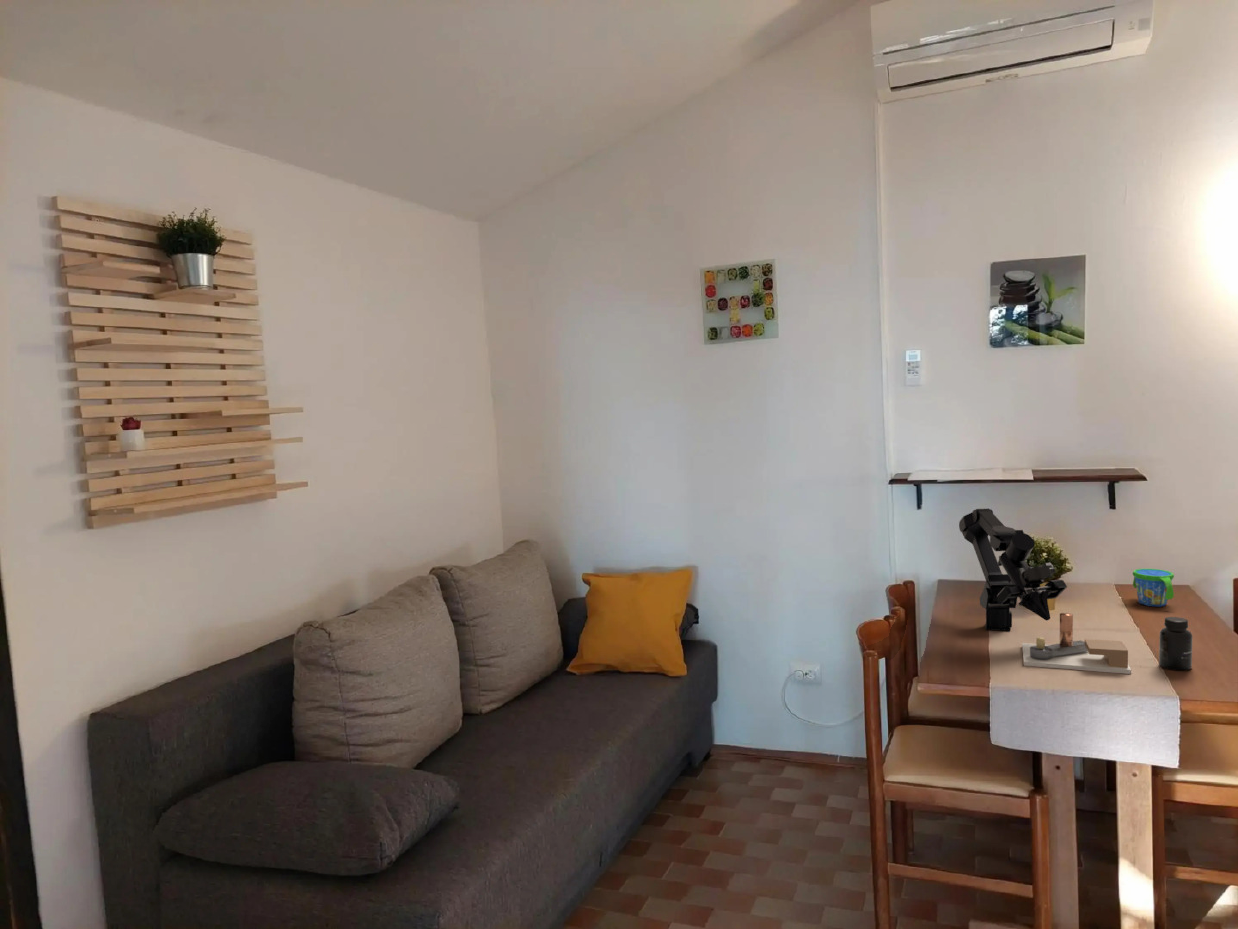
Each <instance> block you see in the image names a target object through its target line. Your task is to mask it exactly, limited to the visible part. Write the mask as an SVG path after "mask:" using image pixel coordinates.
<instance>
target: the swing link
mask: <svg viewBox="0 0 1238 929" xmlns="http://www.w3.org/2000/svg"><path fill="white" fill-rule="evenodd" d="M1073 626H1074V614H1072V613H1069V612H1060V613H1059V643H1055V644H1046V645H1047V646H1045V649H1039V648H1036V646H1032V647H1030V657H1032V658H1035V659H1042V660H1046V659H1051V658H1052V657H1055V656H1062V655H1068V654H1074V653H1080V652H1087V651H1088V650H1087V649H1086V647H1085V640H1081V639H1080V640H1074V639H1073V638H1074V637H1073V636H1074V627H1073Z"/></svg>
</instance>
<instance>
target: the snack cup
mask: <svg viewBox="0 0 1238 929" xmlns="http://www.w3.org/2000/svg"><path fill="white" fill-rule="evenodd" d="M1132 576H1133V581H1132V586H1133V588H1134V589H1136V594H1137V600H1138V603H1139V604H1141V605H1144V606H1147V607H1153V608H1155V607H1156V608H1157V607H1159V608H1160V607H1164V606H1167V603H1168V600H1172V599H1173V598H1174V597H1175V592H1174V589H1173V588H1174V587H1173V582H1172V580H1173V579H1174V577H1175V574H1174V573H1173V572H1172V571H1169V570H1165V569H1160V568H1159V569H1158V568H1138V569H1134V570H1133V571H1132Z"/></svg>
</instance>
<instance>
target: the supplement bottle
mask: <svg viewBox="0 0 1238 929" xmlns="http://www.w3.org/2000/svg"><path fill="white" fill-rule="evenodd" d="M1163 625H1164V627H1163V628H1162V629H1161V630H1159V645H1158V646H1159V650H1158V651H1159V653H1158V665H1159V666H1161V667H1162V668H1165V669H1167V670H1171V671H1177V672H1179V671H1180V672H1181V671H1189V670H1191V669H1192V665H1193V633H1192V632H1191V631H1190V630H1188V629H1189V620H1188V619H1186V618H1183V617H1178V616H1167V617H1165V618H1164V623H1163Z"/></svg>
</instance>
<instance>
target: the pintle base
mask: <svg viewBox="0 0 1238 929" xmlns="http://www.w3.org/2000/svg"><path fill="white" fill-rule="evenodd" d="M1035 642H1036V643H1030V642H1029V643H1028V642H1022V643H1021V646H1022V647H1021V648H1022V659H1023V665H1024V666H1025V667H1037V668H1038V667H1039V668H1050V669H1063V670H1076V671H1078V670H1079V671H1091V672H1103V673H1114V674H1127V675H1128V674H1129V675H1132V669H1131V667H1130V665H1129V649H1128V648H1127V647H1126V645H1125V644H1124V643H1123V641H1122V640H1108V639H1107V640H1106V639H1092V638H1091V639H1090V638H1089V639H1088V638H1084V642H1085V647H1086V649H1087V650H1088V651H1087V652H1080V653H1074V654H1068V655H1062V656H1055V657H1052V658H1051V659H1046V660H1042V659H1035V658H1032V657H1030V647H1032V646H1036V648H1039V649H1045V646H1047V645H1048V644H1046V638H1044V637H1041V636H1039V637H1036V641H1035Z"/></svg>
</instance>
